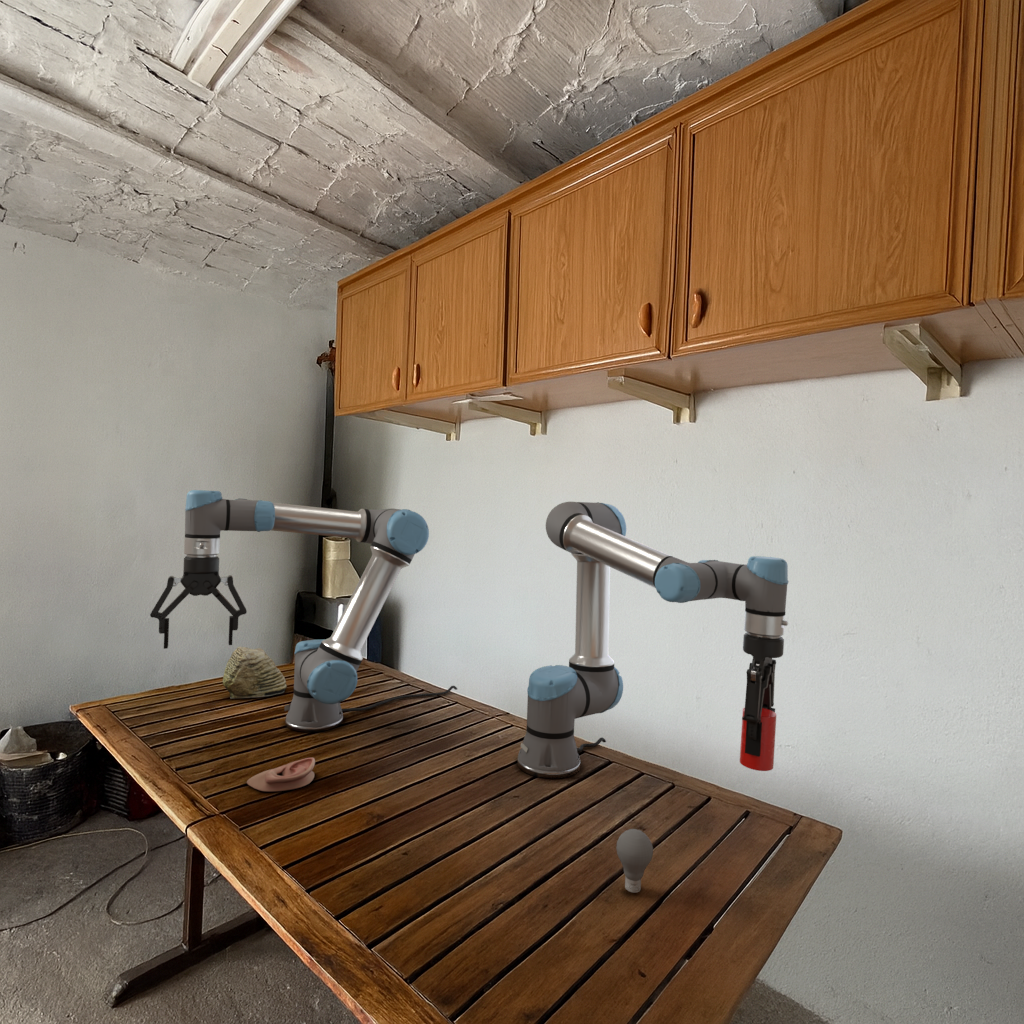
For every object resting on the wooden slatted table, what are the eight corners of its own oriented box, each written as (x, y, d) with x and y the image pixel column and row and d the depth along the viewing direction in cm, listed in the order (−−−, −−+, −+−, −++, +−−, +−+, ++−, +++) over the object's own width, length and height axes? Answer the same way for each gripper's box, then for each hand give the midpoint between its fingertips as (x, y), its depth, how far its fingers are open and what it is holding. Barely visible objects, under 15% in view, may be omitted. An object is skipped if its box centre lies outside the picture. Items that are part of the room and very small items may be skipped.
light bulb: (610, 879, 108) (613, 822, 108) (644, 879, 109) (647, 822, 109) (619, 902, 102) (622, 840, 102) (655, 901, 103) (658, 840, 103)
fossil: (218, 695, 195) (220, 647, 195) (278, 685, 208) (279, 640, 207) (228, 703, 189) (230, 653, 188) (289, 692, 201) (290, 645, 201)
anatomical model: (238, 769, 136) (269, 749, 147) (238, 787, 136) (269, 766, 147) (295, 777, 133) (322, 756, 144) (294, 796, 133) (321, 773, 144)
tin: (734, 763, 127) (737, 710, 126) (747, 755, 131) (750, 704, 131) (766, 774, 122) (769, 719, 122) (778, 765, 127) (781, 712, 127)
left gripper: (138, 557, 140) (135, 652, 140) (259, 557, 151) (256, 646, 151) (142, 554, 147) (139, 645, 147) (258, 554, 157) (254, 639, 158)
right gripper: (772, 645, 116) (764, 770, 117) (794, 630, 132) (787, 739, 133) (730, 638, 120) (723, 758, 121) (756, 624, 136) (750, 730, 137)
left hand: (198, 645), depth 149 cm, fingers open, 13 cm apart
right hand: (757, 748), depth 127 cm, fingers closed on tin, 6 cm apart
